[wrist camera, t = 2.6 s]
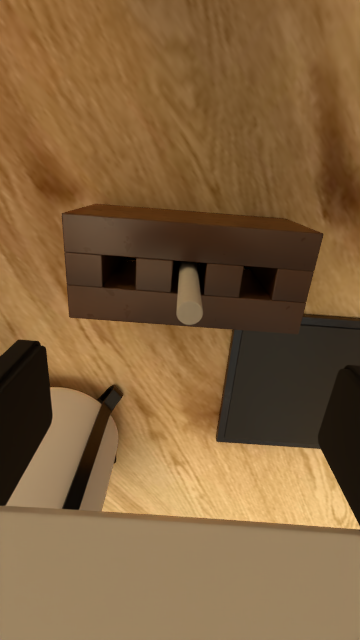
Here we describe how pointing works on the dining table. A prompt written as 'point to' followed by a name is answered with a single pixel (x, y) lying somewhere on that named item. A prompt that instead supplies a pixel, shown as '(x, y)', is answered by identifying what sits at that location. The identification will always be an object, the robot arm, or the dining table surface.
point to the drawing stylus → (189, 294)
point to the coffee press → (72, 454)
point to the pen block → (193, 246)
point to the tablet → (284, 381)
